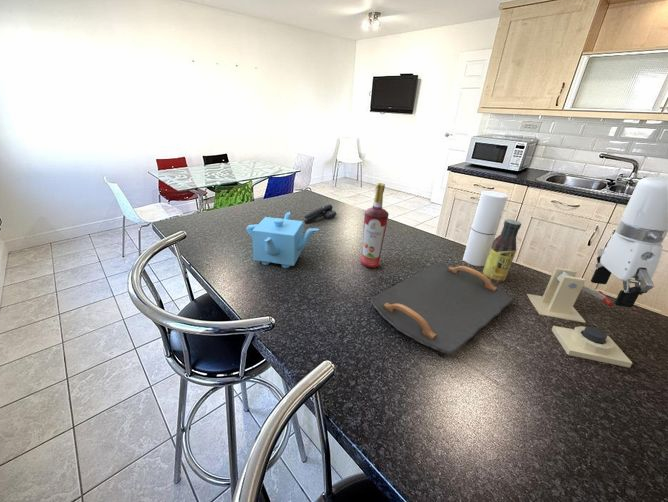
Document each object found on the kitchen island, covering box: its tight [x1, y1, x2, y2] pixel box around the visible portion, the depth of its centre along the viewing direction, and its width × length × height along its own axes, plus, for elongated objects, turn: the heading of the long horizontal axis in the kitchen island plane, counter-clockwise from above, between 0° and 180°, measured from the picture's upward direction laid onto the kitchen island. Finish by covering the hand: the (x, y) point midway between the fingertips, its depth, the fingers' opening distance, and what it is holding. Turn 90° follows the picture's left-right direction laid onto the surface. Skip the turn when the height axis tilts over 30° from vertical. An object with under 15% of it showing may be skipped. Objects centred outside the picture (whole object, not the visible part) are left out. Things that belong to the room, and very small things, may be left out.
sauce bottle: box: [482, 218, 522, 284], centre depth 89 cm, size 6×6×20 cm
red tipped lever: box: [557, 272, 615, 307], centre depth 75 cm, size 12×5×2 cm, turn 74°
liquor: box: [359, 182, 390, 269], centre depth 94 cm, size 7×7×28 cm
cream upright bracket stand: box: [526, 267, 587, 324], centre depth 77 cm, size 10×9×12 cm
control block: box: [551, 325, 633, 368], centre depth 66 cm, size 11×8×4 cm
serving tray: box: [370, 263, 514, 358], centre depth 79 cm, size 39×23×6 cm, turn 126°
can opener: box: [303, 204, 337, 224], centre depth 134 cm, size 18×7×6 cm, turn 129°
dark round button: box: [582, 326, 608, 344], centre depth 65 cm, size 4×4×2 cm
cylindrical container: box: [462, 190, 509, 267], centre depth 97 cm, size 7×7×25 cm
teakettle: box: [246, 211, 320, 269], centre depth 99 cm, size 19×19×15 cm
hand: (609, 293), depth 74 cm, fingers open, 9 cm apart
